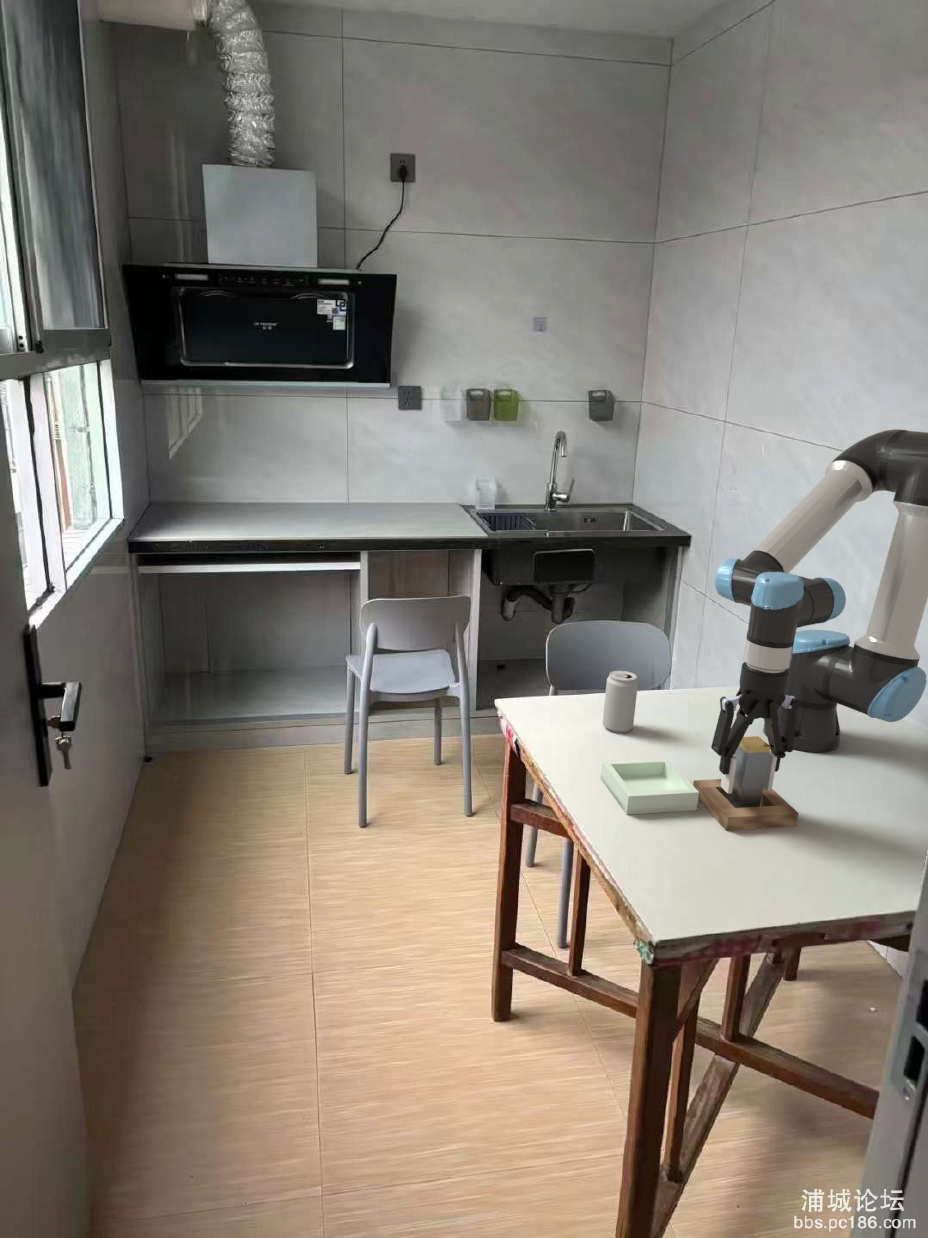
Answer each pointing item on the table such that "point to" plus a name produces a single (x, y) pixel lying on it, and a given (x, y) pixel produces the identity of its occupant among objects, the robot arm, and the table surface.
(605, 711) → the beverage can
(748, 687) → the robot arm
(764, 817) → the socket block
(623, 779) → the bin
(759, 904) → the table surface
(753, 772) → the strut
